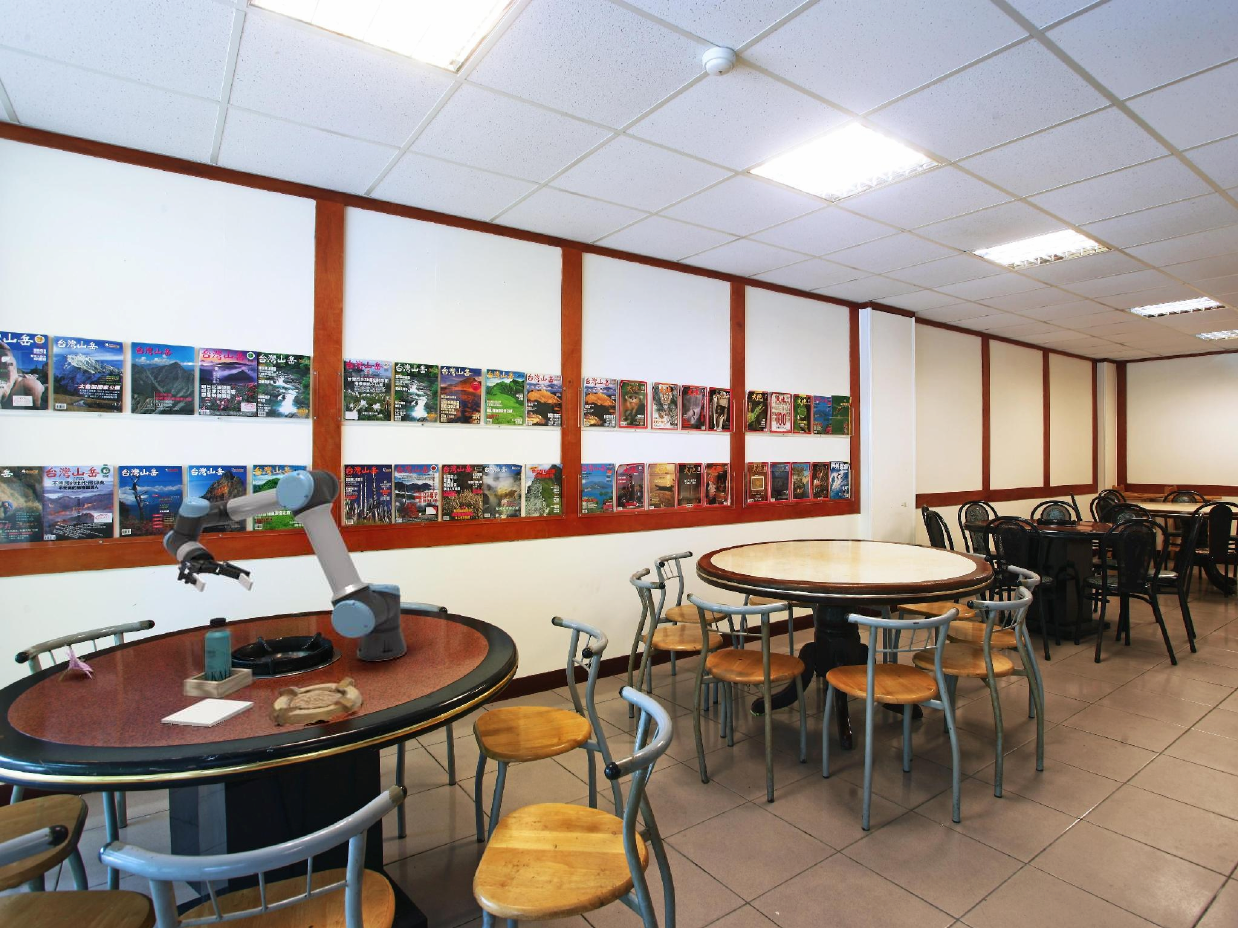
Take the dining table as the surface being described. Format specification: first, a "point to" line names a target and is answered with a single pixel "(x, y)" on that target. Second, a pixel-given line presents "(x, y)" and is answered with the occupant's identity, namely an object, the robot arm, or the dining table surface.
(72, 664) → the lily
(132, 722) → the dining table surface
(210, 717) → the rubber mat
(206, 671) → the beverage bottle
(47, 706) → the dining table surface
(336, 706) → the ashtray
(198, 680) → the wooden tray
